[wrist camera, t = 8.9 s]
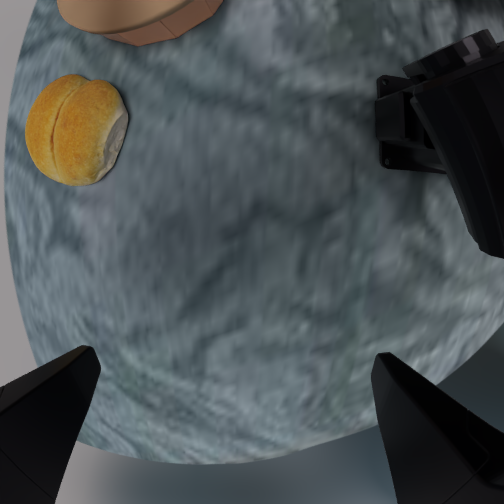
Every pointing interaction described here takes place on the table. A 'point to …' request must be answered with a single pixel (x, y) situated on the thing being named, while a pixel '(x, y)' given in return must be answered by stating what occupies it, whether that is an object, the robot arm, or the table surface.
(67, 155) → the bread roll
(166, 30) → the bowl
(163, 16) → the lid
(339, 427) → the table surface
